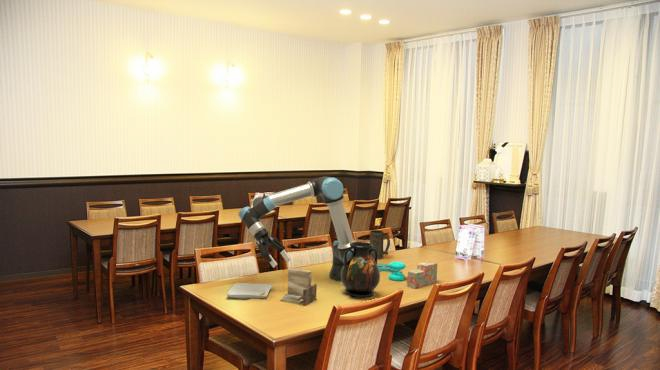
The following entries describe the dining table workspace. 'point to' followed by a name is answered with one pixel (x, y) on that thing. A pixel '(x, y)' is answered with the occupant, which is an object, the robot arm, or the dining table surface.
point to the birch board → (298, 281)
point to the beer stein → (378, 243)
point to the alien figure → (386, 268)
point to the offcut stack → (293, 299)
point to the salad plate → (249, 290)
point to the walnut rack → (308, 295)
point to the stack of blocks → (422, 275)
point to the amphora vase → (360, 271)
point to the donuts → (397, 275)
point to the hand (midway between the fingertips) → (282, 263)
